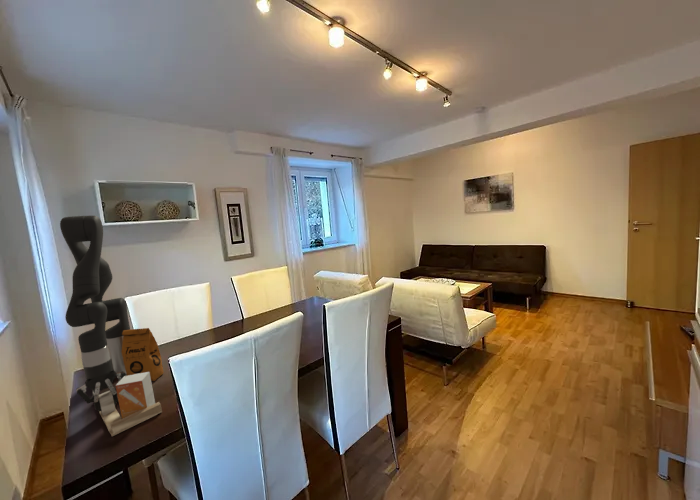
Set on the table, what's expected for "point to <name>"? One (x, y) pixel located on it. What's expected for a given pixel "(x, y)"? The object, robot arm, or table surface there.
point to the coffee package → (141, 353)
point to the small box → (134, 393)
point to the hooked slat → (119, 424)
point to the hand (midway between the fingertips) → (107, 407)
